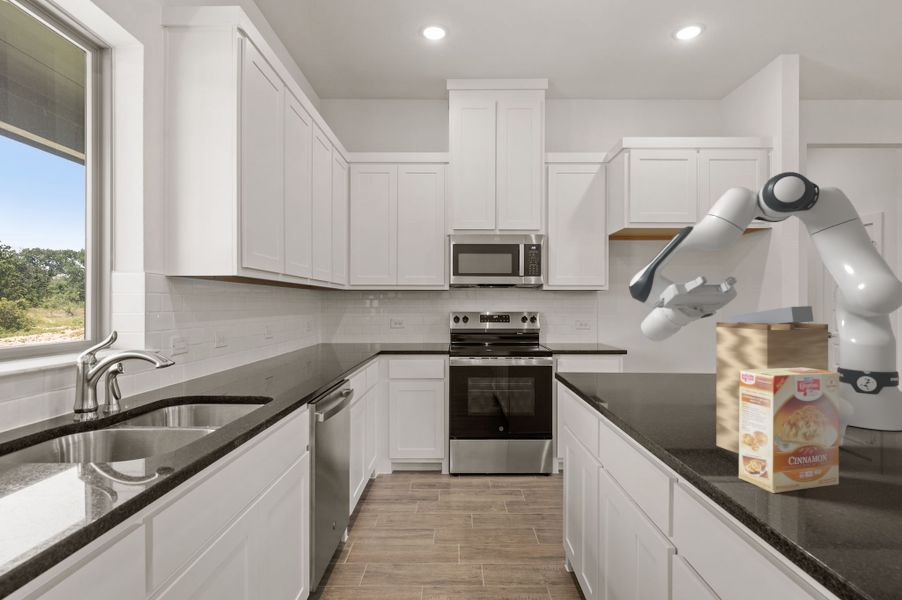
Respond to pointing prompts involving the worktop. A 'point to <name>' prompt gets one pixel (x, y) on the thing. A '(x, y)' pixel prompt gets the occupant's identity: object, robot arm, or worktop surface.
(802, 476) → the coffeecake box
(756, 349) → the riser block
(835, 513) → the worktop surface
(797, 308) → the grey rectangular bar
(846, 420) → the lightbulb
